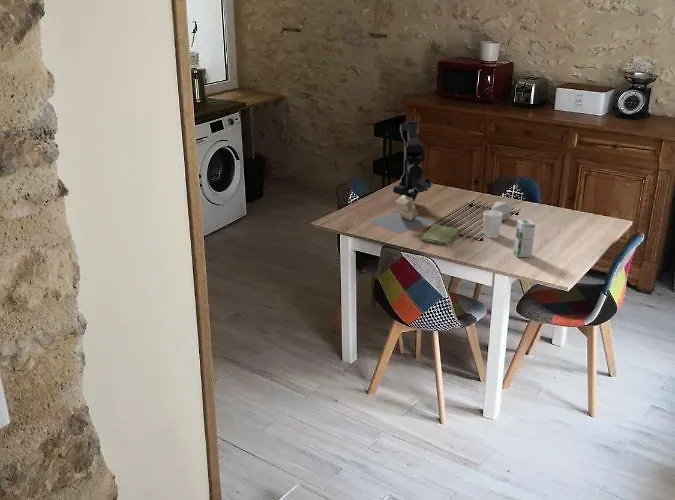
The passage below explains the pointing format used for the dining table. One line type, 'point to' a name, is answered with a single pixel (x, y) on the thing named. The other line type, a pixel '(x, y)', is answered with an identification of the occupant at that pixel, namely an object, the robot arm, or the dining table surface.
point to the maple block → (406, 208)
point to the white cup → (492, 222)
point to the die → (502, 209)
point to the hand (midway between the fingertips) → (411, 205)
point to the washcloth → (440, 234)
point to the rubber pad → (399, 223)
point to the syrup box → (524, 238)
